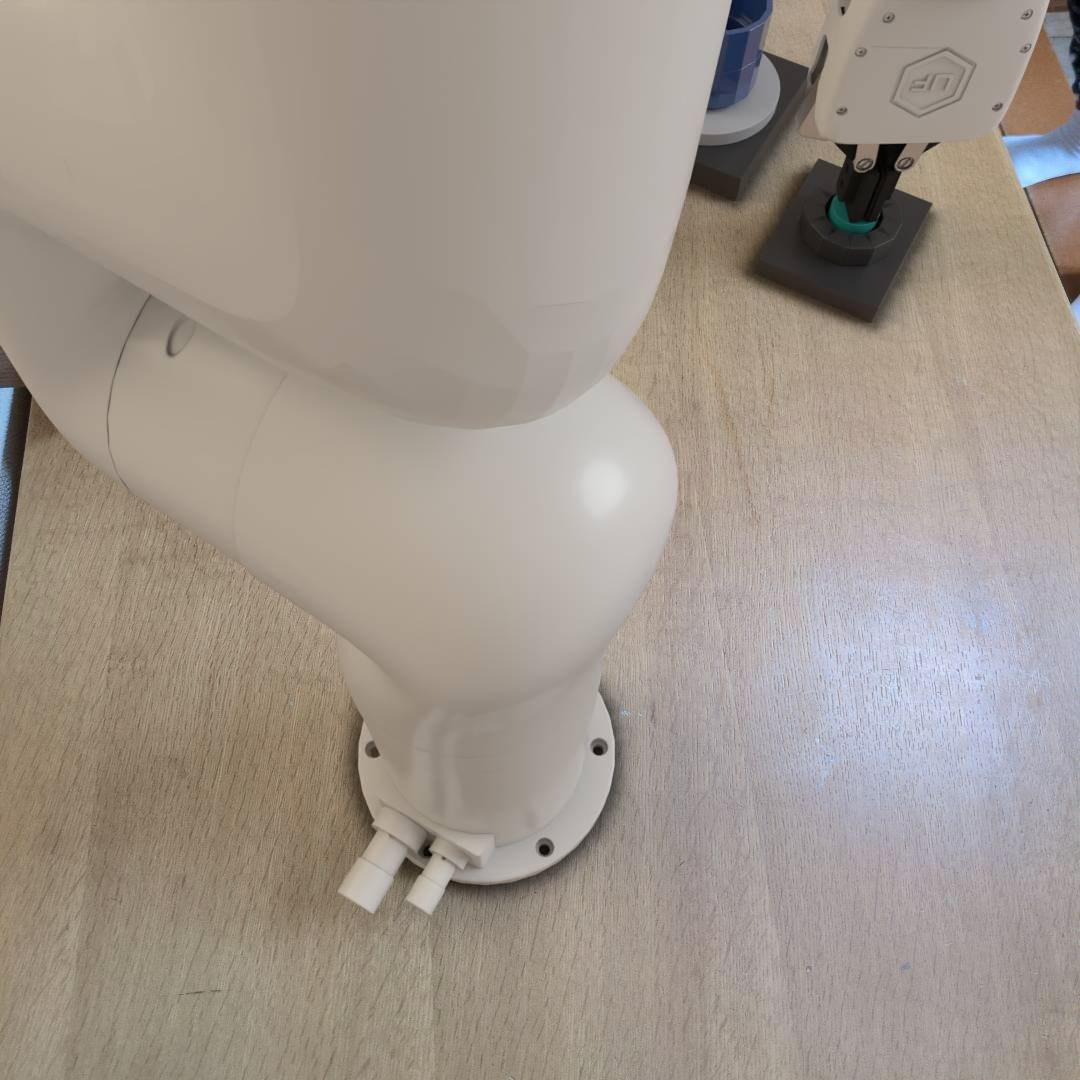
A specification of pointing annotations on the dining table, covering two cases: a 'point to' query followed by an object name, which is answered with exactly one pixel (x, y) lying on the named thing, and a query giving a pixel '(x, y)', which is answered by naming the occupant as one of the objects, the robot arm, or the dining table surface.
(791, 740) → the dining table surface
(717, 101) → the blue cup
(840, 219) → the button
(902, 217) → the panel
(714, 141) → the scale
